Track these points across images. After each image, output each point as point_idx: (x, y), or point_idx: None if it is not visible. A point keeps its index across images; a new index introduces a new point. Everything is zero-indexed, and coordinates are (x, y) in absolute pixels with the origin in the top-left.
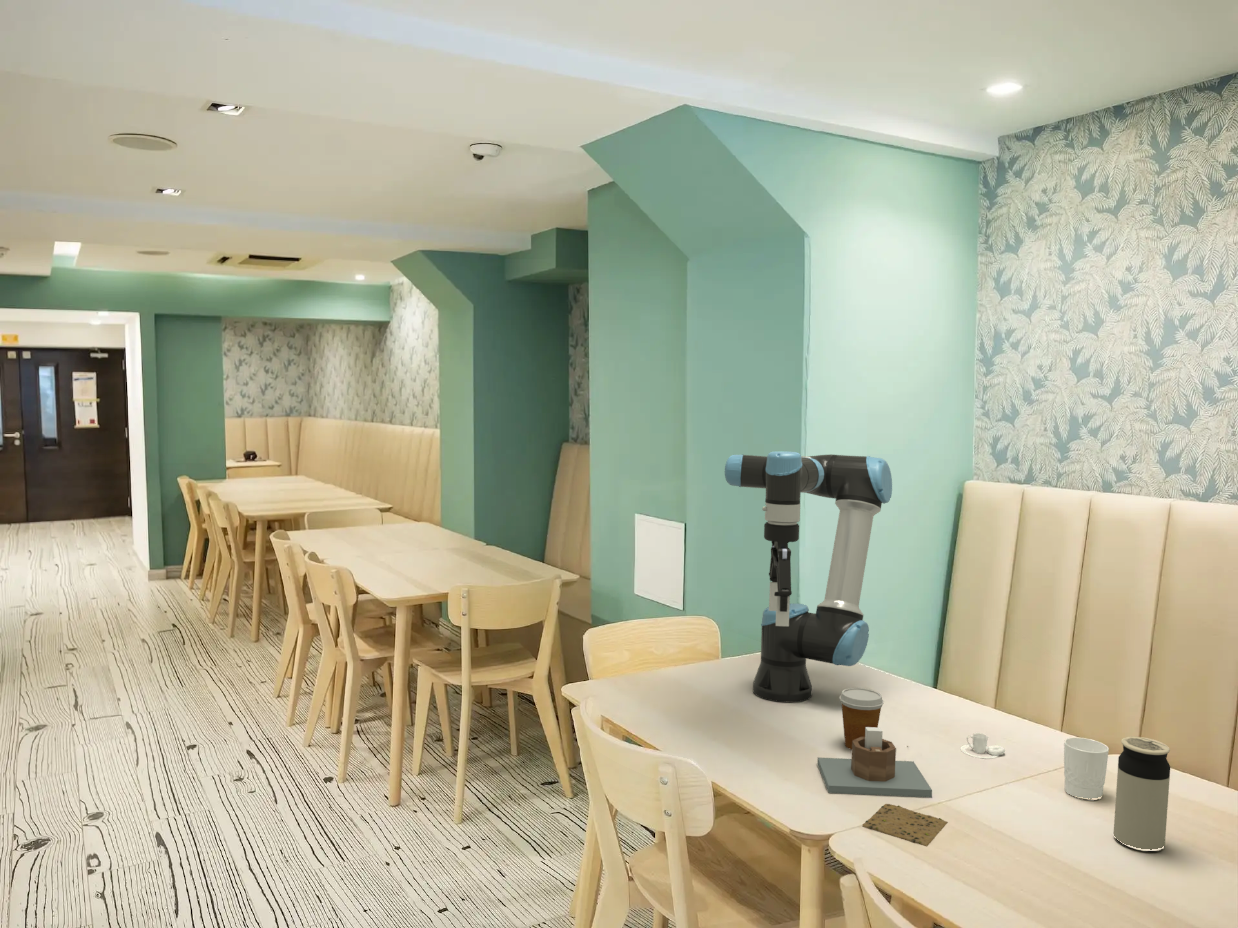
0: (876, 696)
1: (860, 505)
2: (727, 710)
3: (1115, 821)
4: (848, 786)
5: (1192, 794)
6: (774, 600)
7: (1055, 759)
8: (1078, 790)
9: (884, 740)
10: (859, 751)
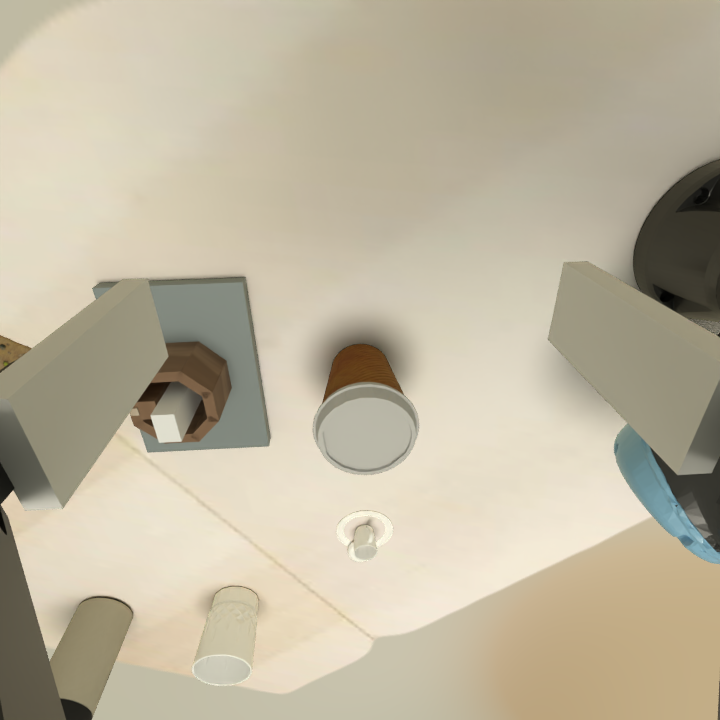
0: (364, 463)
1: None
2: (598, 59)
3: (91, 618)
4: None
5: (266, 673)
6: (593, 325)
7: (348, 598)
8: (214, 602)
9: (203, 430)
10: None
